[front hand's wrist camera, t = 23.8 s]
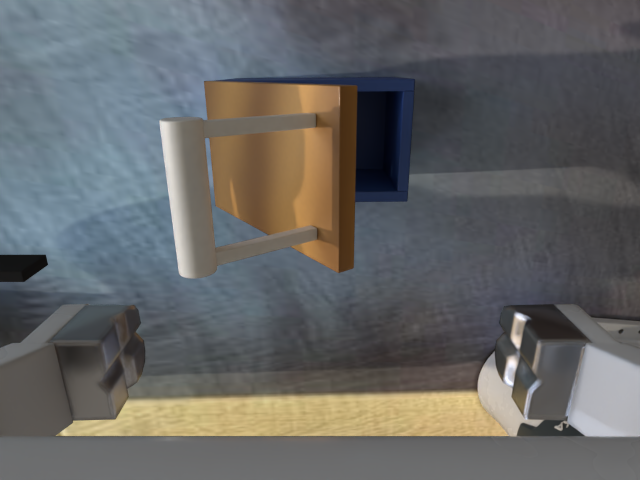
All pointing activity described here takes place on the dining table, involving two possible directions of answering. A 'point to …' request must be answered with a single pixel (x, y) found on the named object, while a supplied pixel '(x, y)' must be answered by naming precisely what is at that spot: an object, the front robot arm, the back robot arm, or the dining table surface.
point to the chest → (376, 133)
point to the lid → (265, 172)
